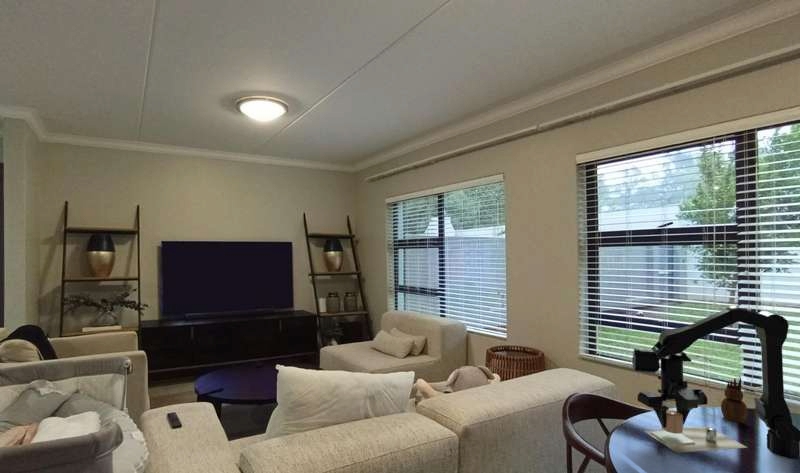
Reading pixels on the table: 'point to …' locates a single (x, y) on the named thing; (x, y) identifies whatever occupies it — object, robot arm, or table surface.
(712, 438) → the silver metal cylinder
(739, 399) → the wooden figurine
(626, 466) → the table surface
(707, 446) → the board
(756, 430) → the table surface
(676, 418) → the cap
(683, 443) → the pad
